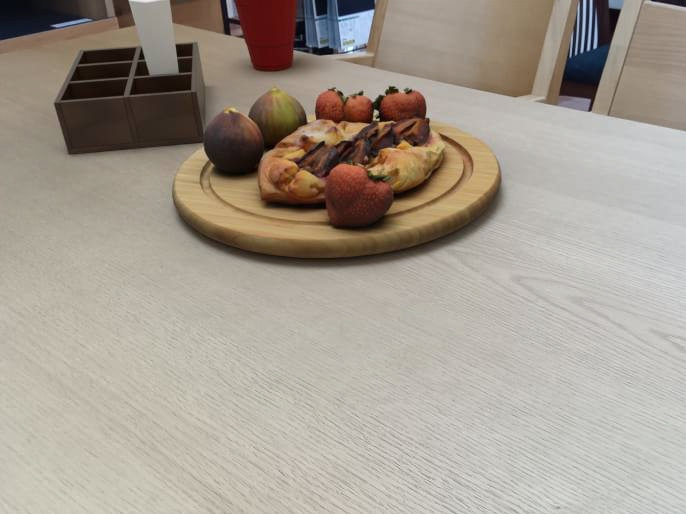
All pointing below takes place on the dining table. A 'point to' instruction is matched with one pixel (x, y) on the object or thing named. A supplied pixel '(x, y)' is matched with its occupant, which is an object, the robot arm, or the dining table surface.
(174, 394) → the dining table surface
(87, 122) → the rack
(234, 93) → the dining table surface
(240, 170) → the wooden plate
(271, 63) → the plastic cup
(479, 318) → the dining table surface
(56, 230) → the dining table surface
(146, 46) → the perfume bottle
